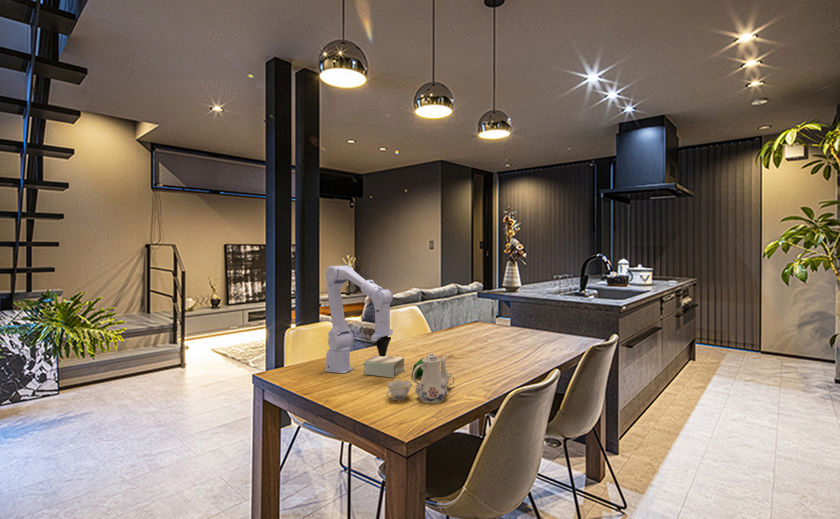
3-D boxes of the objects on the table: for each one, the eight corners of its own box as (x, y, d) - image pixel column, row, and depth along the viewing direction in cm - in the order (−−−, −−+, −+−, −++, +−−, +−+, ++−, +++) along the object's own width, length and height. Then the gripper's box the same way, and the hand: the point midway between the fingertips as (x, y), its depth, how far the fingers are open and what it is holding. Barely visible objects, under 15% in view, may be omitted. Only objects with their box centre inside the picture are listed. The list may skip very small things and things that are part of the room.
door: (363, 374, 167) (363, 361, 167) (364, 373, 168) (364, 361, 168) (394, 377, 163) (394, 364, 162) (395, 376, 163) (395, 364, 163)
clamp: (424, 390, 162) (426, 372, 157) (410, 385, 163) (412, 367, 159) (434, 370, 172) (437, 354, 168) (421, 366, 173) (423, 349, 169)
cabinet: (365, 374, 168) (365, 360, 168) (375, 367, 177) (375, 354, 177) (394, 377, 164) (394, 363, 163) (404, 370, 173) (404, 357, 173)
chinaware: (439, 386, 158) (435, 342, 158) (472, 393, 145) (468, 345, 146) (380, 405, 139) (376, 355, 140) (412, 414, 126) (408, 360, 127)
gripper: (383, 324, 151) (383, 361, 152) (399, 318, 165) (399, 352, 165) (366, 323, 154) (366, 359, 154) (383, 317, 167) (383, 351, 168)
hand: (382, 356), depth 160 cm, fingers closed
